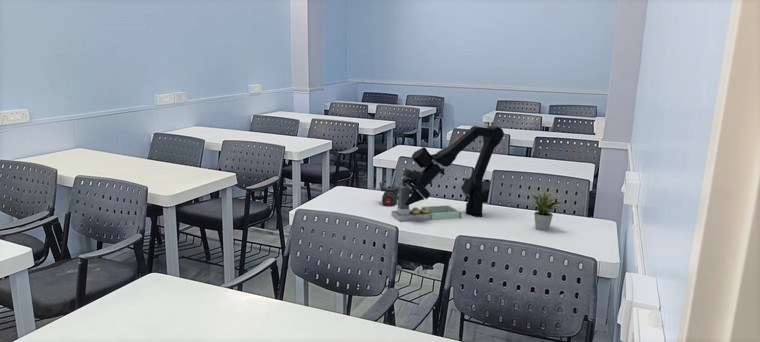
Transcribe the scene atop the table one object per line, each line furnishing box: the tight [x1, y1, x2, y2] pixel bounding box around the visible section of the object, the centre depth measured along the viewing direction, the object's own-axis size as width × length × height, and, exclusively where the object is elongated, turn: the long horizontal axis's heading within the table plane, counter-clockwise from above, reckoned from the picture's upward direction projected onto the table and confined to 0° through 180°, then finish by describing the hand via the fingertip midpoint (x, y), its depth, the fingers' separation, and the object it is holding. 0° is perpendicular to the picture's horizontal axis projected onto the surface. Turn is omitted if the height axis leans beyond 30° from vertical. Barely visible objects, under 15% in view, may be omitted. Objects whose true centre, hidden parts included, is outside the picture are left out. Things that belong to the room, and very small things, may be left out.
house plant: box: [527, 188, 563, 231], centre depth 213 cm, size 14×14×16 cm
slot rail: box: [390, 208, 458, 223], centre depth 226 cm, size 27×12×2 cm, turn 108°
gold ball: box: [420, 206, 430, 214], centre depth 226 cm, size 4×4×4 cm
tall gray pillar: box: [396, 185, 411, 215], centre depth 222 cm, size 4×4×13 cm
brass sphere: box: [410, 207, 421, 215], centre depth 225 cm, size 4×4×4 cm
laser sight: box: [379, 181, 402, 207], centre depth 251 cm, size 10×22×10 cm, turn 173°
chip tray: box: [420, 204, 462, 221], centre depth 228 cm, size 13×12×3 cm
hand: (401, 202), depth 222 cm, fingers open, 9 cm apart
